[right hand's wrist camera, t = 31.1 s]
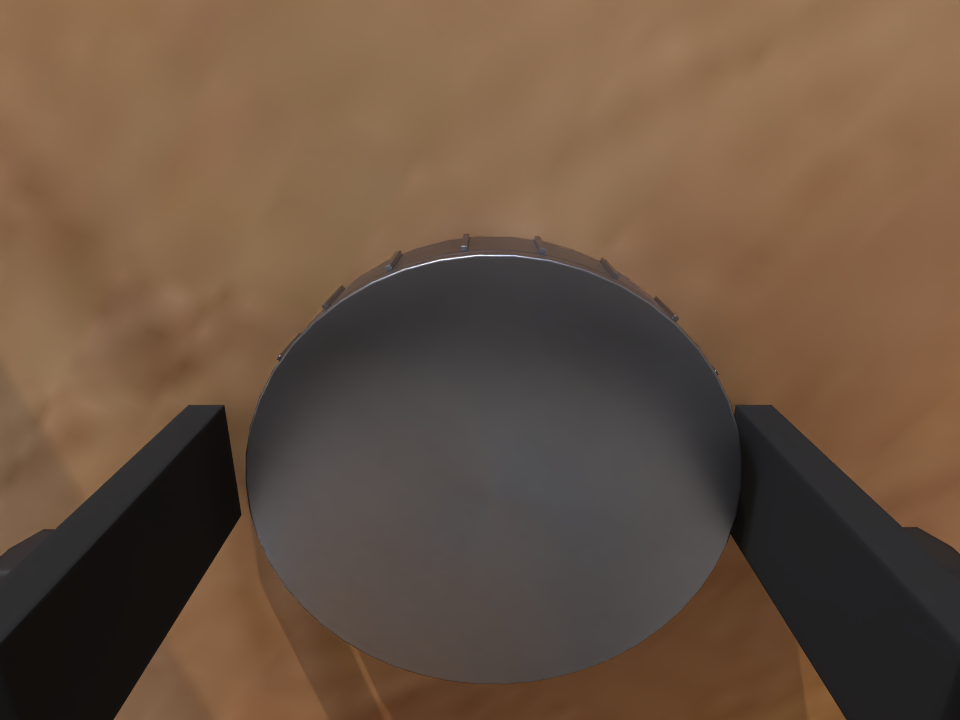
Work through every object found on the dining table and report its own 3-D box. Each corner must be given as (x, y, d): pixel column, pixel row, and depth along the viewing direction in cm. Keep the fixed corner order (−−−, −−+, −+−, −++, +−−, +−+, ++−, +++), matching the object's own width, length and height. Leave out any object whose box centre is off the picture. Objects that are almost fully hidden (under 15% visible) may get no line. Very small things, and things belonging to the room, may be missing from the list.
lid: (217, 532, 15) (179, 589, 13) (378, 142, 12) (358, 145, 10) (572, 672, 16) (584, 741, 14) (801, 360, 13) (853, 397, 11)
